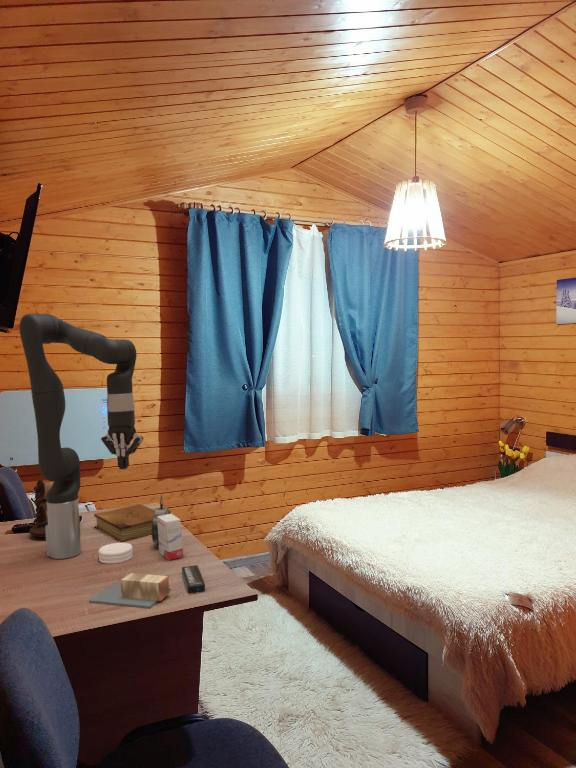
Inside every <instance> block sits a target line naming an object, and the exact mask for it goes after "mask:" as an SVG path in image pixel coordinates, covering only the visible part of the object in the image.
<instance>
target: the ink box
mask: <svg viewBox="0 0 576 768" xmlns="http://www.w3.org/2000/svg"><path fill="white" fill-rule="evenodd" d="M157 521H158V537H159V546H158V551H159V555H161V556H162V557H165V558H166V559H167V560H168V561H172V560H176V559H179V558H183V557H184V548H183V538H182V537H183V536H182V524H181V519H180V518H179V517H177V516H176V515H174V514H173V513H171V514H167V515H161V516H157Z"/></svg>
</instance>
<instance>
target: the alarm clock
mask: <svg viewBox="0 0 576 768" xmlns="http://www.w3.org/2000/svg"><path fill="white" fill-rule="evenodd" d="M162 500H163V495H162V494H160V497H159V502H160V503H159V506H160V507H155V509H153V510H154V514H153V519H152V535H151V538H152V542H153V543H154V544H155V543H156V550H159V537H158V521H157V516H161V515H167V514H172V512H171V509H169V508H168V507H163V505H164V503H162Z"/></svg>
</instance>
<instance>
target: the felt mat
mask: <svg viewBox="0 0 576 768" xmlns="http://www.w3.org/2000/svg"><path fill="white" fill-rule="evenodd" d="M171 591H172V588H171V587H169V592H171ZM158 602H159V601H156V600H145V599H135V598H124V597H121V583H118V582H113V583H112V584H110V585H109V586H107V587H106V588H105V589H103V590H102V591H100V592H98V593H97V594H96V595H94V596H93V597H92V598H90V599H89V600H88V603H93V604H103V605H112V606H124V607H134V608H141V609H142V608H143V609H150V608H152V607H153V606H154V605H156V604H157V603H158Z"/></svg>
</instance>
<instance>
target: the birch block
mask: <svg viewBox="0 0 576 768" xmlns="http://www.w3.org/2000/svg"><path fill="white" fill-rule="evenodd" d="M120 584H121V597H124V598H135V599H145V600H156V601H158V602H161V601H163V600H164V599H165V598H166V597H167V596H169V594H170V591H169V588H170V583H169V575H158V574H144V573H134V572H131V573H130V572H129V573H128V574H127V575H125V576H124V577H122V578H121V579H120Z"/></svg>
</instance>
